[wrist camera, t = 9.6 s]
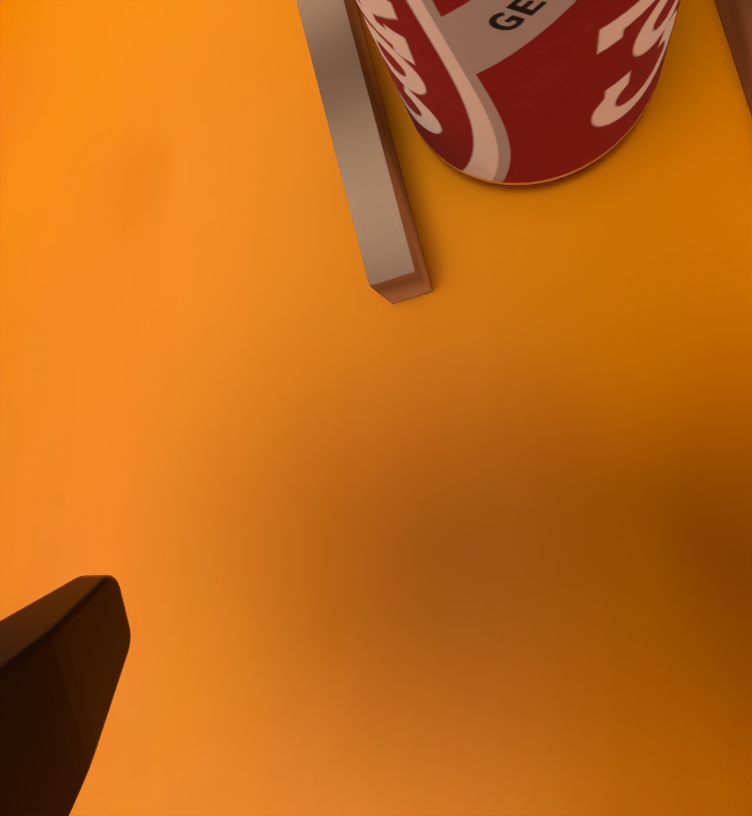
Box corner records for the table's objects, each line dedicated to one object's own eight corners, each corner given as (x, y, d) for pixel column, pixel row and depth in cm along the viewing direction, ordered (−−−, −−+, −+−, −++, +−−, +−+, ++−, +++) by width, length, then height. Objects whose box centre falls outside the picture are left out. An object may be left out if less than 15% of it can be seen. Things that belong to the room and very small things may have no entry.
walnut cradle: (826, 167, 17) (869, 124, 15) (392, 303, 20) (369, 286, 17) (699, -215, 18) (721, -314, 16) (304, -36, 21) (271, -98, 18)
